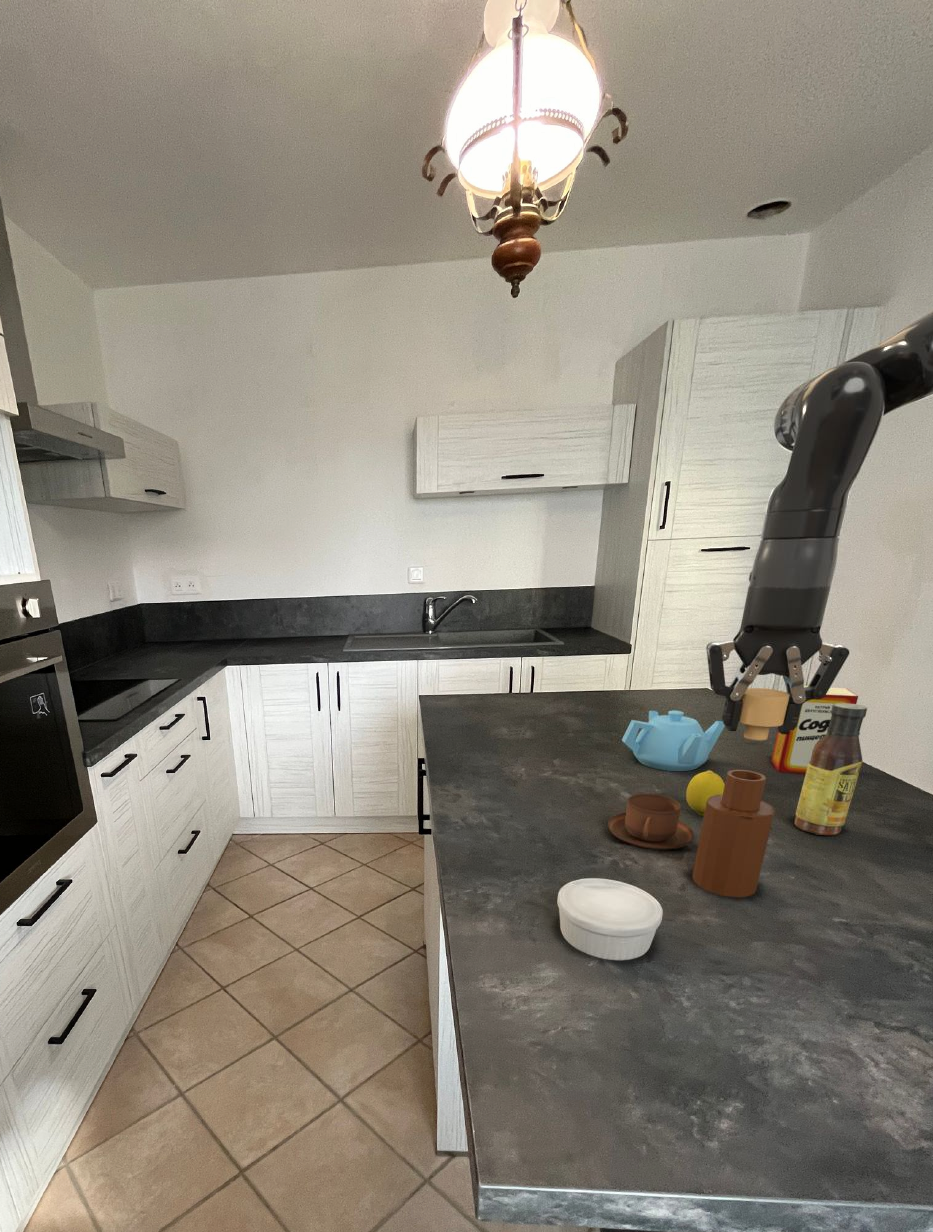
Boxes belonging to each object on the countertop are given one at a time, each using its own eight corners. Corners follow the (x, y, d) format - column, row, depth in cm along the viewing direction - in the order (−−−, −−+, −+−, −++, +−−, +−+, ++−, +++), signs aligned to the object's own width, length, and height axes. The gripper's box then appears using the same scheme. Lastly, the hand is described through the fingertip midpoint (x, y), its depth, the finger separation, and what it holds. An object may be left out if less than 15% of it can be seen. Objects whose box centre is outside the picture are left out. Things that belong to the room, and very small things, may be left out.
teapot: (646, 746, 139) (653, 699, 135) (720, 760, 129) (729, 709, 125) (616, 763, 129) (622, 712, 125) (693, 779, 119) (702, 725, 115)
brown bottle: (747, 878, 84) (772, 768, 78) (760, 906, 78) (788, 788, 72) (688, 871, 87) (708, 763, 81) (696, 897, 80) (718, 782, 75)
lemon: (719, 824, 100) (729, 778, 97) (681, 818, 103) (689, 773, 100) (721, 812, 104) (730, 768, 102) (684, 806, 107) (691, 763, 104)
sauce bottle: (832, 841, 93) (868, 713, 86) (785, 828, 98) (815, 705, 91) (848, 829, 97) (883, 705, 90) (802, 817, 102) (832, 698, 94)
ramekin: (630, 912, 78) (636, 875, 76) (675, 968, 67) (683, 927, 65) (541, 915, 78) (545, 878, 76) (572, 971, 67) (577, 930, 65)
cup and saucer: (702, 860, 89) (709, 821, 87) (613, 853, 92) (618, 815, 90) (680, 825, 100) (686, 790, 98) (601, 820, 103) (605, 786, 101)
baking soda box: (827, 765, 123) (847, 686, 118) (836, 776, 118) (859, 693, 112) (771, 761, 127) (788, 684, 121) (778, 771, 121) (796, 691, 116)
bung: (773, 733, 76) (783, 689, 74) (784, 744, 72) (795, 698, 70) (728, 730, 77) (737, 687, 75) (736, 741, 73) (746, 696, 71)
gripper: (721, 585, 67) (694, 735, 73) (883, 583, 62) (839, 744, 69) (709, 581, 74) (685, 719, 80) (854, 579, 69) (817, 726, 75)
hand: (757, 730), depth 74 cm, fingers closed on bung, 4 cm apart
